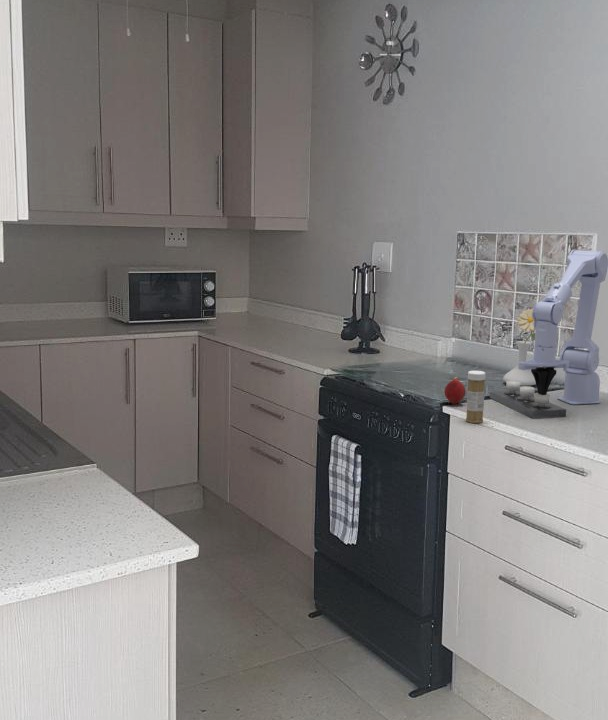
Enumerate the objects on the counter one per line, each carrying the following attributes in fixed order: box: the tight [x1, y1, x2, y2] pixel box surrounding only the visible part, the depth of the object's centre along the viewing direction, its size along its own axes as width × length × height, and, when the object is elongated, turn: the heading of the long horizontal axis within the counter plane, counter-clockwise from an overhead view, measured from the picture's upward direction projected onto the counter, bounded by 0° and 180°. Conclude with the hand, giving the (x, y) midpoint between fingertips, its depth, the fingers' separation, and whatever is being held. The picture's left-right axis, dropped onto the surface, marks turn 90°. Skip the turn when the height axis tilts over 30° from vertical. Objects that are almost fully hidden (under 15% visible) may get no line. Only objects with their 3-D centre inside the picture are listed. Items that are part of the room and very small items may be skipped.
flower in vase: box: [502, 307, 536, 387], centre depth 264 cm, size 13×11×25 cm
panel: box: [489, 390, 567, 419], centre depth 237 cm, size 10×25×2 cm, turn 15°
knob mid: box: [520, 386, 536, 400], centre depth 237 cm, size 4×4×3 cm
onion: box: [444, 376, 466, 405], centre depth 239 cm, size 6×6×8 cm
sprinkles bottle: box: [465, 370, 486, 424], centre depth 219 cm, size 5×5×13 cm
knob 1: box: [505, 381, 521, 394], centre depth 244 cm, size 4×4×3 cm
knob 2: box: [534, 392, 551, 407], centre depth 229 cm, size 4×4×3 cm
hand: (541, 394), depth 229 cm, fingers closed, pressing on knob 2
